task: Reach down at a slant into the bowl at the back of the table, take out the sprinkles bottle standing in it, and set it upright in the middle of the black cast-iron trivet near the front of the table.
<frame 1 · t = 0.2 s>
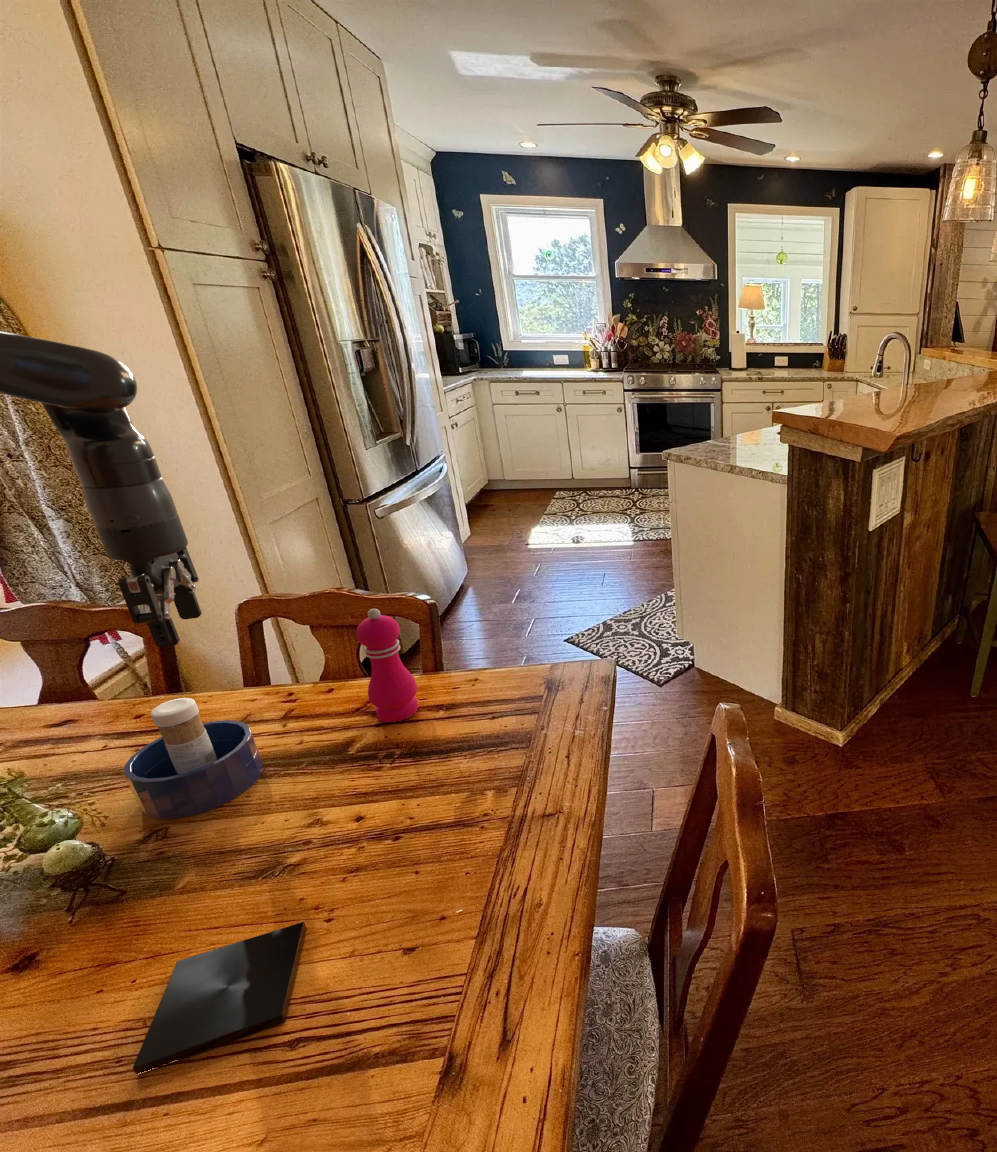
hand: (180, 630, 83), 24 cm above the table, tool pointing down, fingers open, 8 cm apart
bowl: (205, 784, 89), on the table
trivet: (231, 994, 62), on the table
sprinkles bottle: (205, 784, 89), resting on bowl
pepper mill: (398, 713, 106), on the table
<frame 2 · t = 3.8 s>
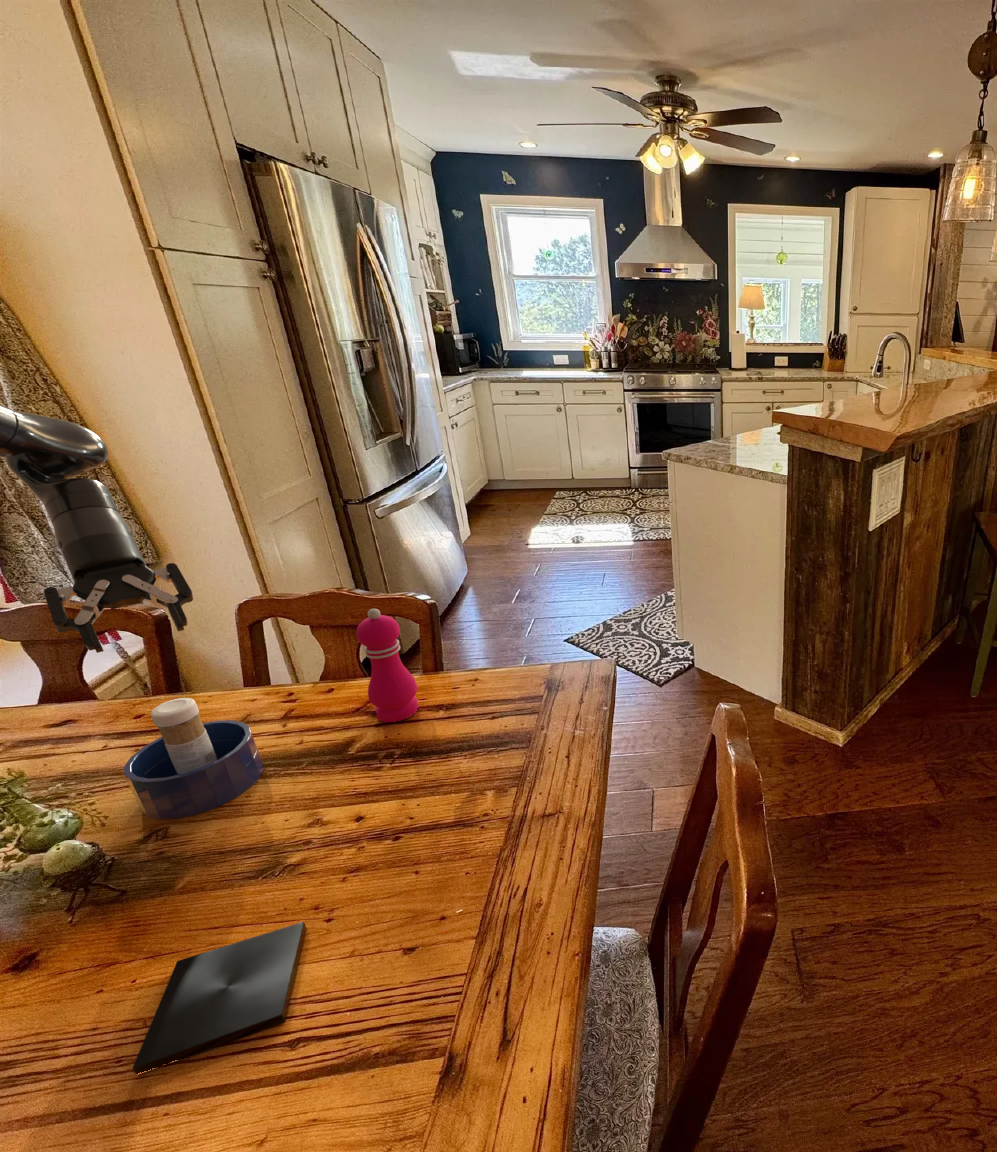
hand: (141, 639, 88), 20 cm above the table, tool tilted 45°, fingers open, 8 cm apart
nothing on the table moved.
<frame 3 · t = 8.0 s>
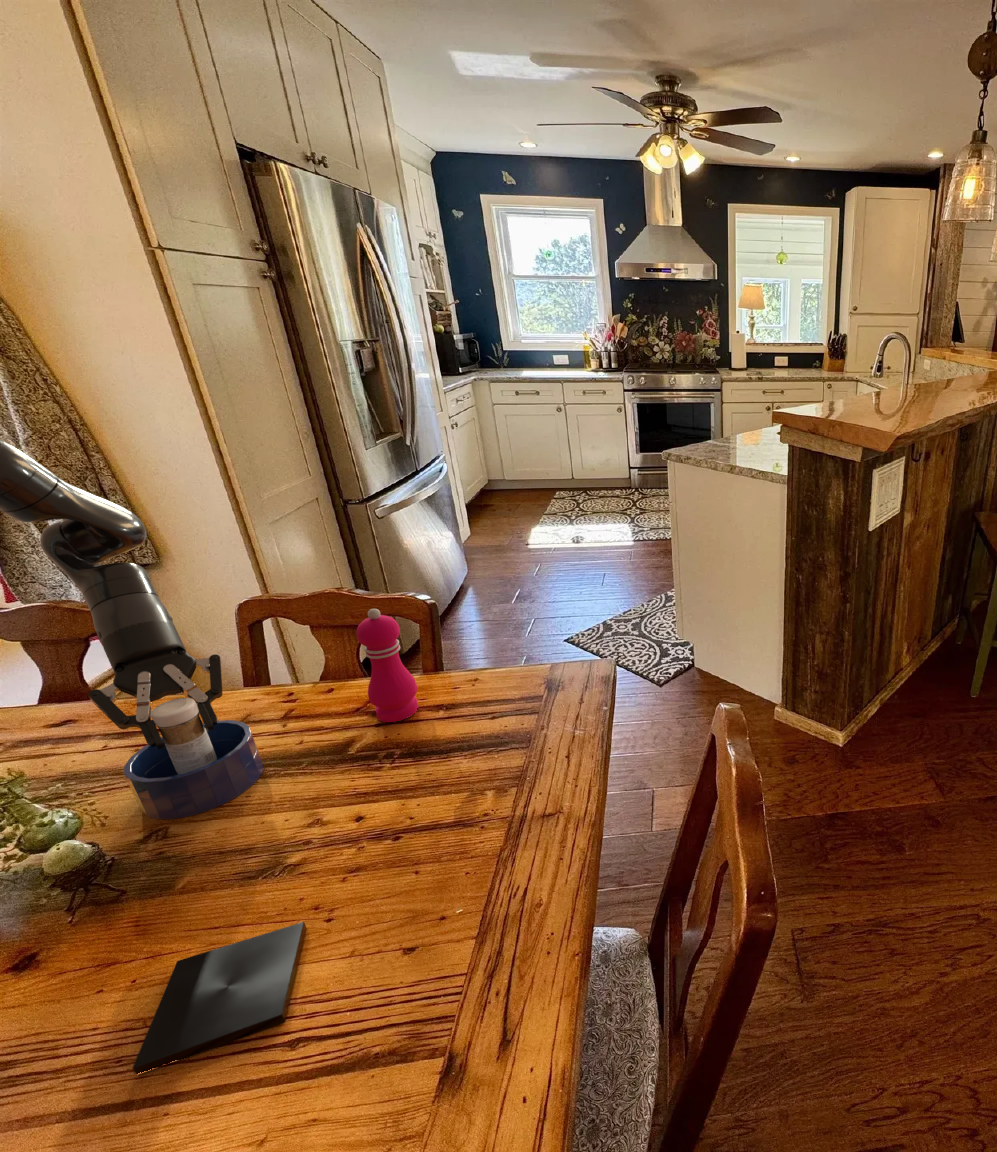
hand: (186, 737, 84), 9 cm above the table, tool tilted 45°, fingers closed on sprinkles bottle, 4 cm apart
sprinkles bottle: (205, 784, 89), resting on bowl, touching gripper
everything else where it was.
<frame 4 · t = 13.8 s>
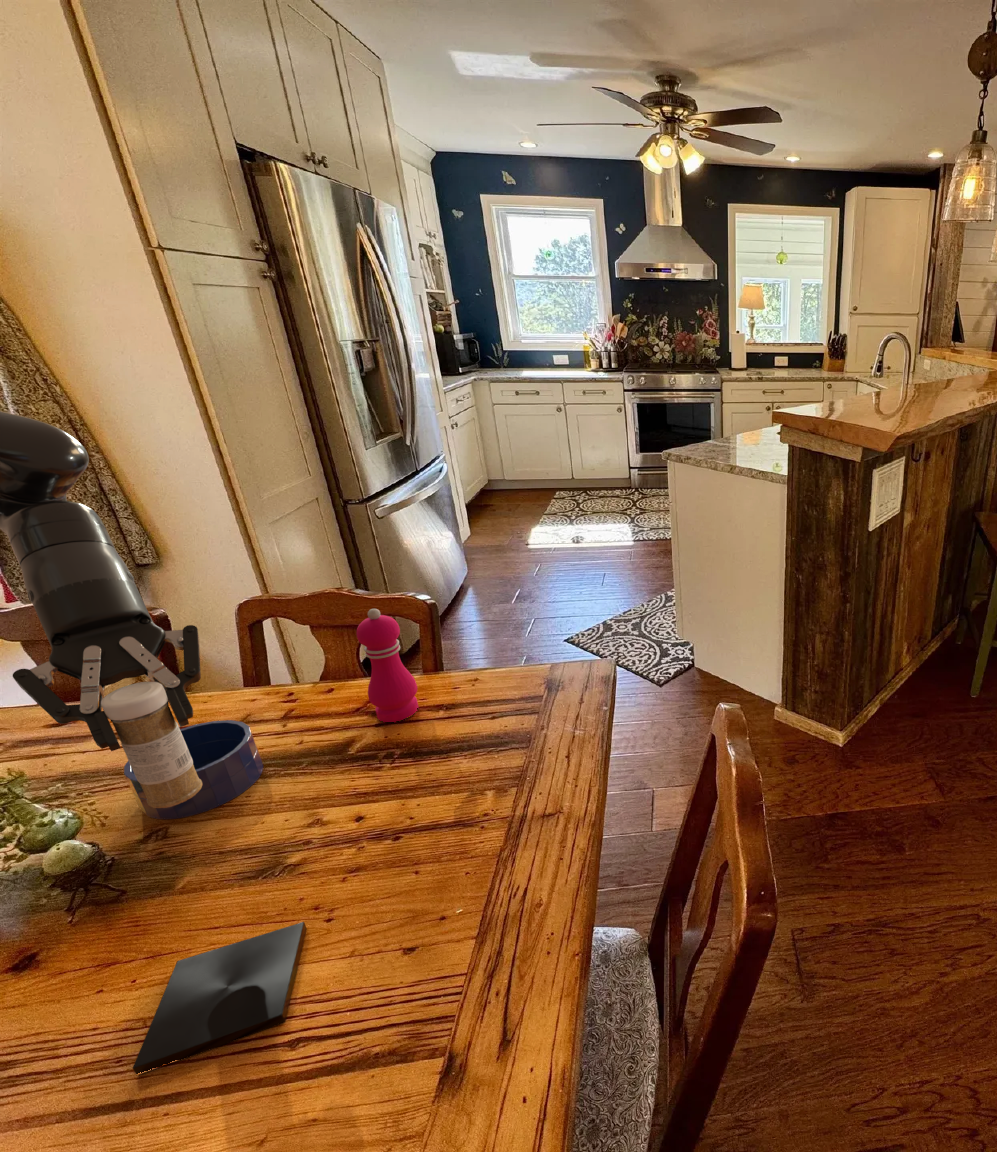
hand: (150, 734, 62), 24 cm above the table, tool tilted 45°, fingers closed on sprinkles bottle, 4 cm apart
sprinkles bottle: (177, 796, 67), point 15 cm above the table, touching gripper
everything else where it was.
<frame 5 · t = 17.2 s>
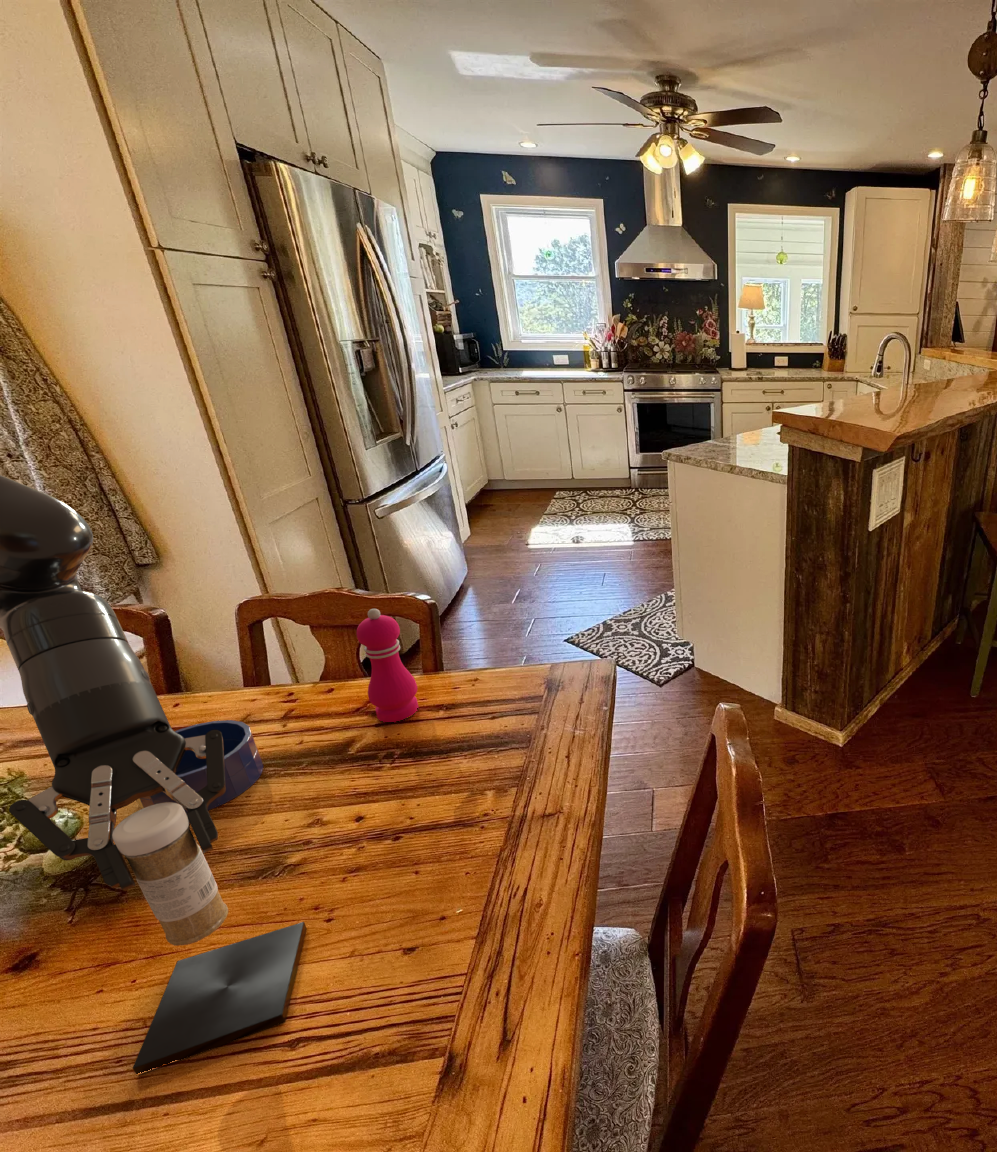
hand: (168, 867, 54), 19 cm above the table, tool tilted 45°, fingers closed on sprinkles bottle, 4 cm apart
sprinkles bottle: (199, 927, 58), point 10 cm above the table, touching gripper
everything else where it was.
when the fingers open (10 cm above the table, at t = 20.0 s): sprinkles bottle stays where it is, resting on trivet.
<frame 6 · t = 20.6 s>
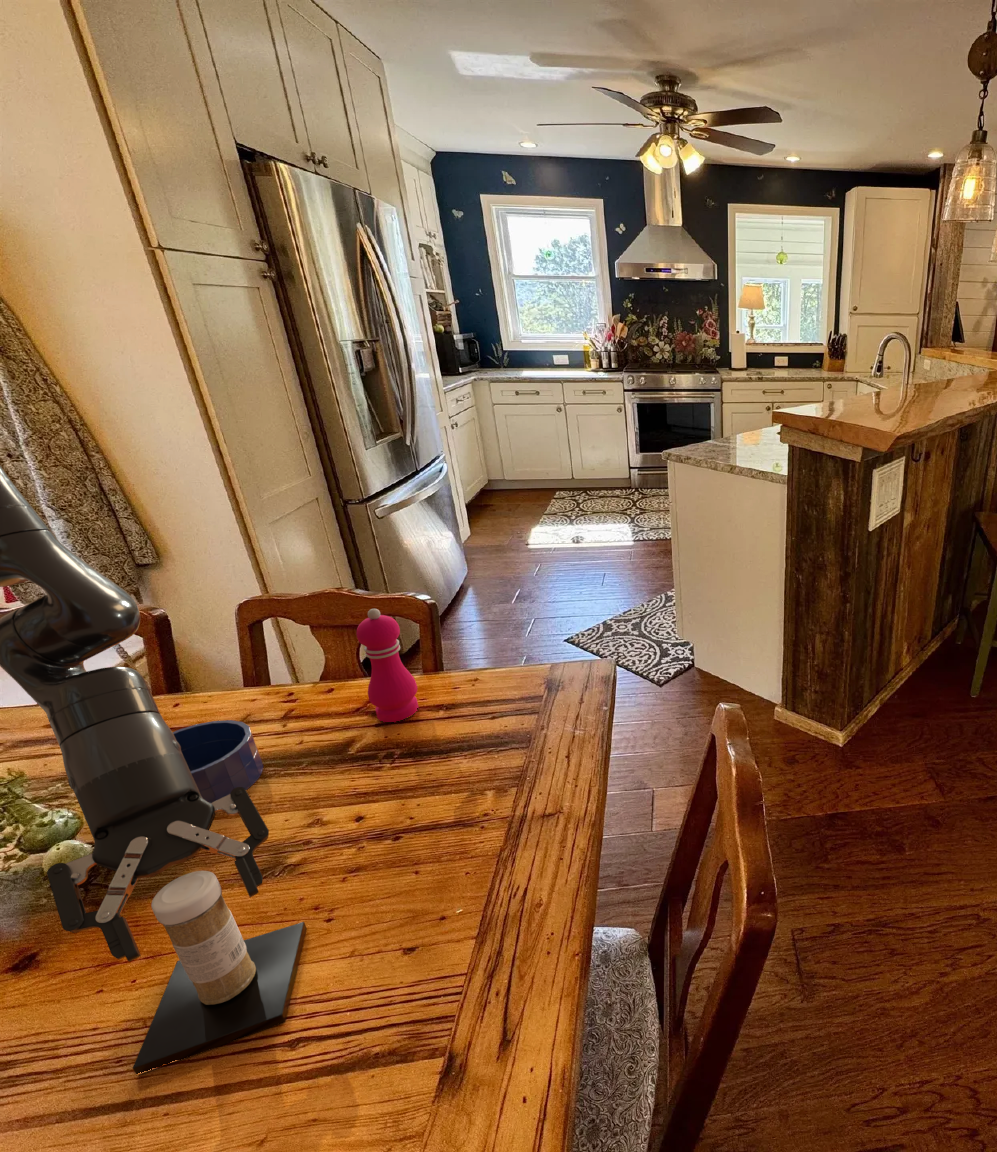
hand: (197, 925, 57), 11 cm above the table, tool tilted 45°, fingers open, 8 cm apart
sprinkles bottle: (229, 985, 62), point 1 cm above the table, touching trivet
everything else where it was.
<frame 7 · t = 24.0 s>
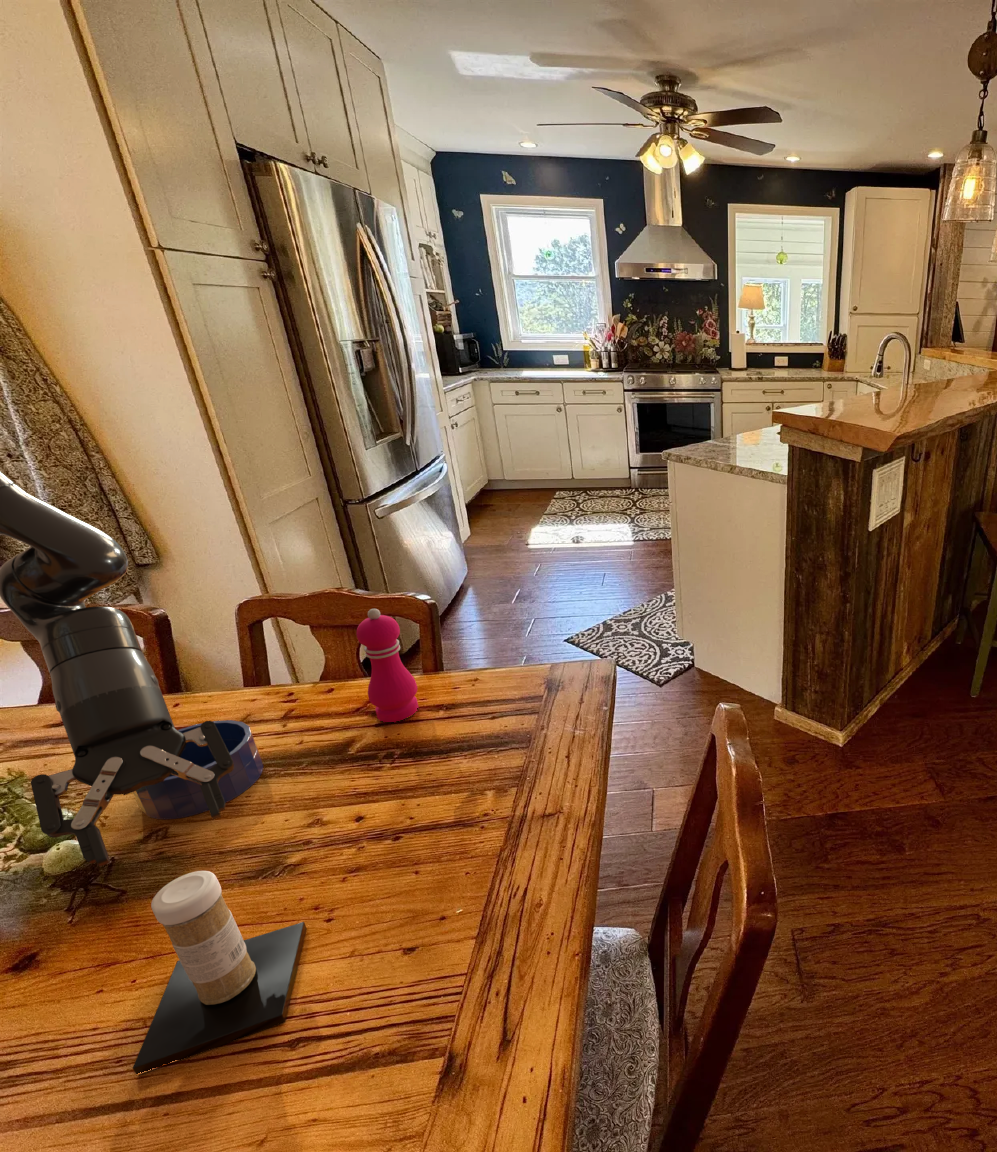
hand: (162, 839, 63), 13 cm above the table, tool tilted 45°, fingers open, 8 cm apart
nothing on the table moved.
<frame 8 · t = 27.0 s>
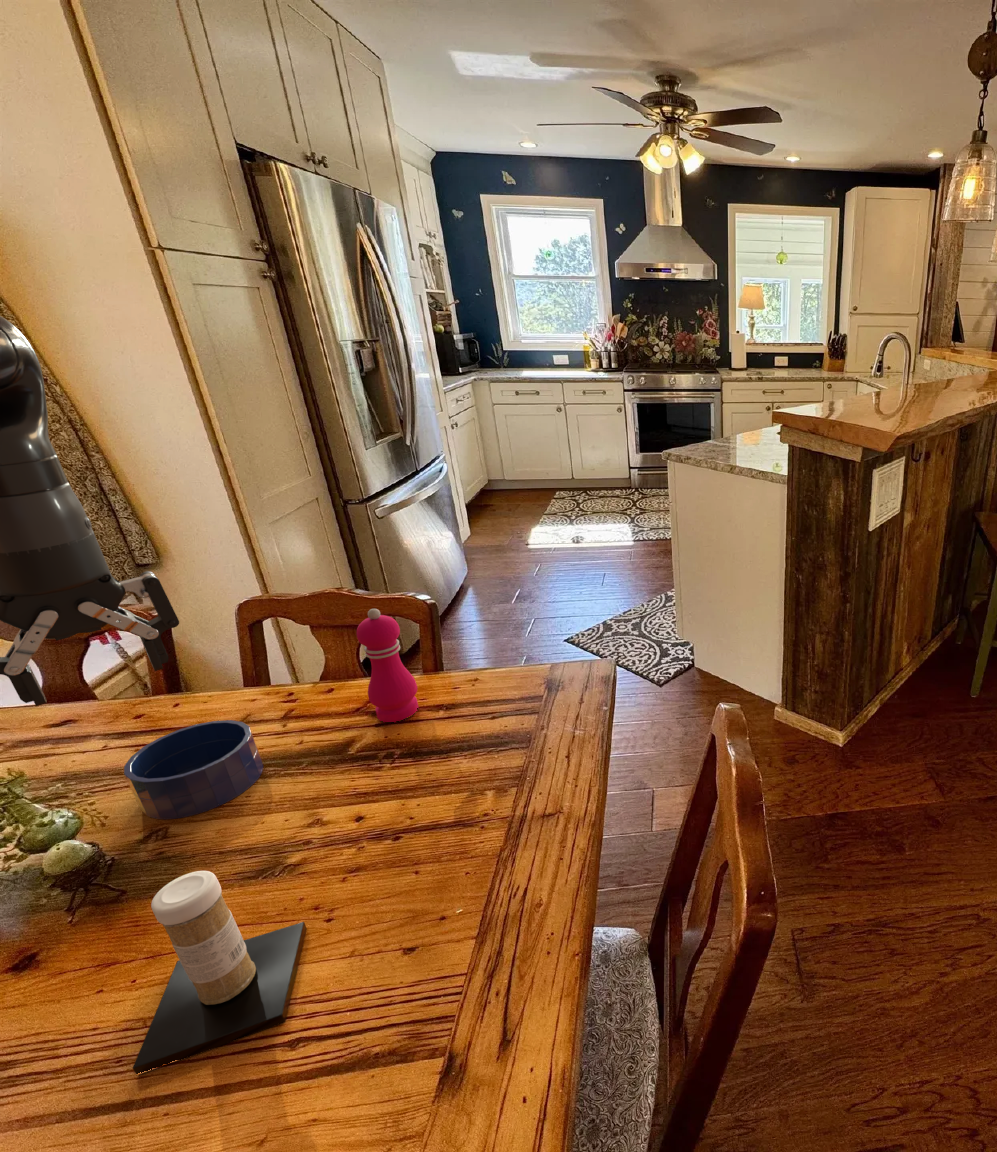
hand: (102, 684, 63), 28 cm above the table, tool pointing down, fingers open, 8 cm apart
nothing on the table moved.
at the end: sprinkles bottle 0.2 cm off-centre on the trivet, point 1.0 cm above the trivet's base; sprinkles bottle tilted 0°; the gripper is holding nothing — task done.
